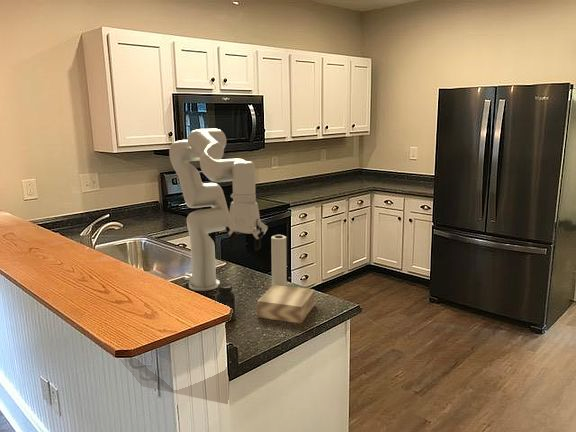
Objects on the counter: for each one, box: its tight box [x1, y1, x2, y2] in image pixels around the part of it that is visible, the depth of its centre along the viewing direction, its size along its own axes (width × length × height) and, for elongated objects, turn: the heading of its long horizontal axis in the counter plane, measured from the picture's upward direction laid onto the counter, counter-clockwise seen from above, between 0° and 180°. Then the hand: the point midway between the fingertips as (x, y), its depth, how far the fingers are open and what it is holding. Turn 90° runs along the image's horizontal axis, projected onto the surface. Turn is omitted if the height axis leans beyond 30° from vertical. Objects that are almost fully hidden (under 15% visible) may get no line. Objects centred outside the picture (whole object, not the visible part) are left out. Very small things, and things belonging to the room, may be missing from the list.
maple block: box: [256, 285, 315, 324], centre depth 165 cm, size 16×16×6 cm
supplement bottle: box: [214, 282, 237, 322], centre depth 159 cm, size 7×7×12 cm
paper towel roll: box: [270, 233, 288, 287], centre depth 186 cm, size 7×6×21 cm
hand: (245, 247), depth 158 cm, fingers open, 9 cm apart
